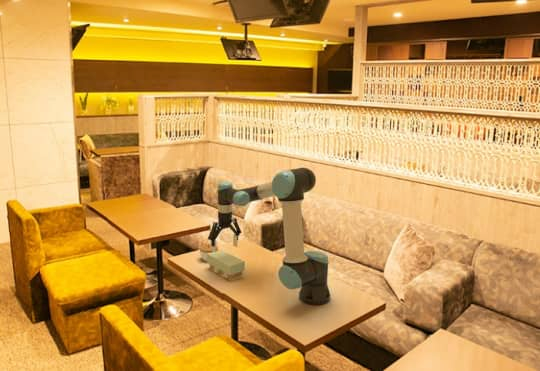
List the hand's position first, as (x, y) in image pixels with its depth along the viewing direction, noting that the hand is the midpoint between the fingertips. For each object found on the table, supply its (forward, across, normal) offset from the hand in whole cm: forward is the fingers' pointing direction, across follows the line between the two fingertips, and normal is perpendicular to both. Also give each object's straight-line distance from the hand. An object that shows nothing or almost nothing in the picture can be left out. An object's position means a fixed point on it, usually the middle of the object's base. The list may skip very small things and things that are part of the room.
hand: (224, 249), depth 249 cm
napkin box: (+14, 0, 0) cm, 14 cm away
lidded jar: (+14, -3, -21) cm, 26 cm away
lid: (+10, 0, 0) cm, 10 cm away
